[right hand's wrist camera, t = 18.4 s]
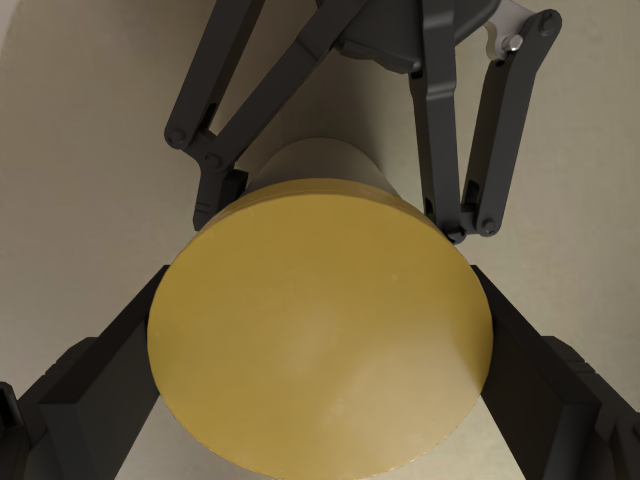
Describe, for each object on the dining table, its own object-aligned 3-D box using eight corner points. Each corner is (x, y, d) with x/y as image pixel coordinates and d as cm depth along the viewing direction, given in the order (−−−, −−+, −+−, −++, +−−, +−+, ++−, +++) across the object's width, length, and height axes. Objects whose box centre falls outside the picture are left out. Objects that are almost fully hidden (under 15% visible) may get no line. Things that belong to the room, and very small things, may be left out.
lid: (529, 315, 12) (565, 353, 11) (327, 472, 15) (328, 524, 13) (309, 102, 10) (307, 103, 8) (113, 330, 13) (79, 369, 11)
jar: (292, 285, 28) (262, 490, 13) (227, 176, 25) (102, 285, 11) (407, 233, 27) (512, 399, 12) (352, 111, 24) (403, 135, 9)
